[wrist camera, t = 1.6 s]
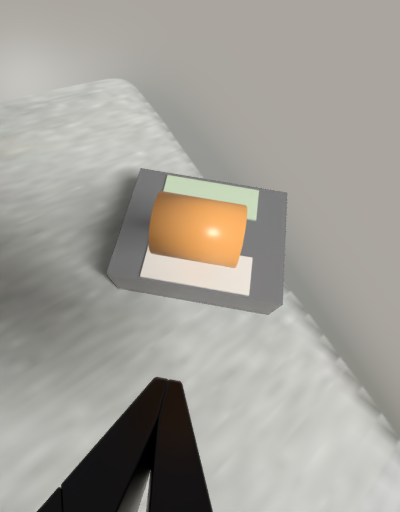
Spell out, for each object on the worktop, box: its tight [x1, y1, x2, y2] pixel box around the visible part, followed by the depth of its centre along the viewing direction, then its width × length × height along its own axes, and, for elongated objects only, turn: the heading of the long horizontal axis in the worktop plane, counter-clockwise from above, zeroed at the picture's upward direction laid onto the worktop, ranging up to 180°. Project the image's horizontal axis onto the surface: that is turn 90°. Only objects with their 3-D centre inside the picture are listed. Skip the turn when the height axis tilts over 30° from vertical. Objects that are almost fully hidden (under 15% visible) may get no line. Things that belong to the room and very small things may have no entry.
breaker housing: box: [106, 168, 287, 315], centre depth 23 cm, size 10×13×4 cm
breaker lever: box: [149, 191, 247, 268], centre depth 15 cm, size 2×3×12 cm
